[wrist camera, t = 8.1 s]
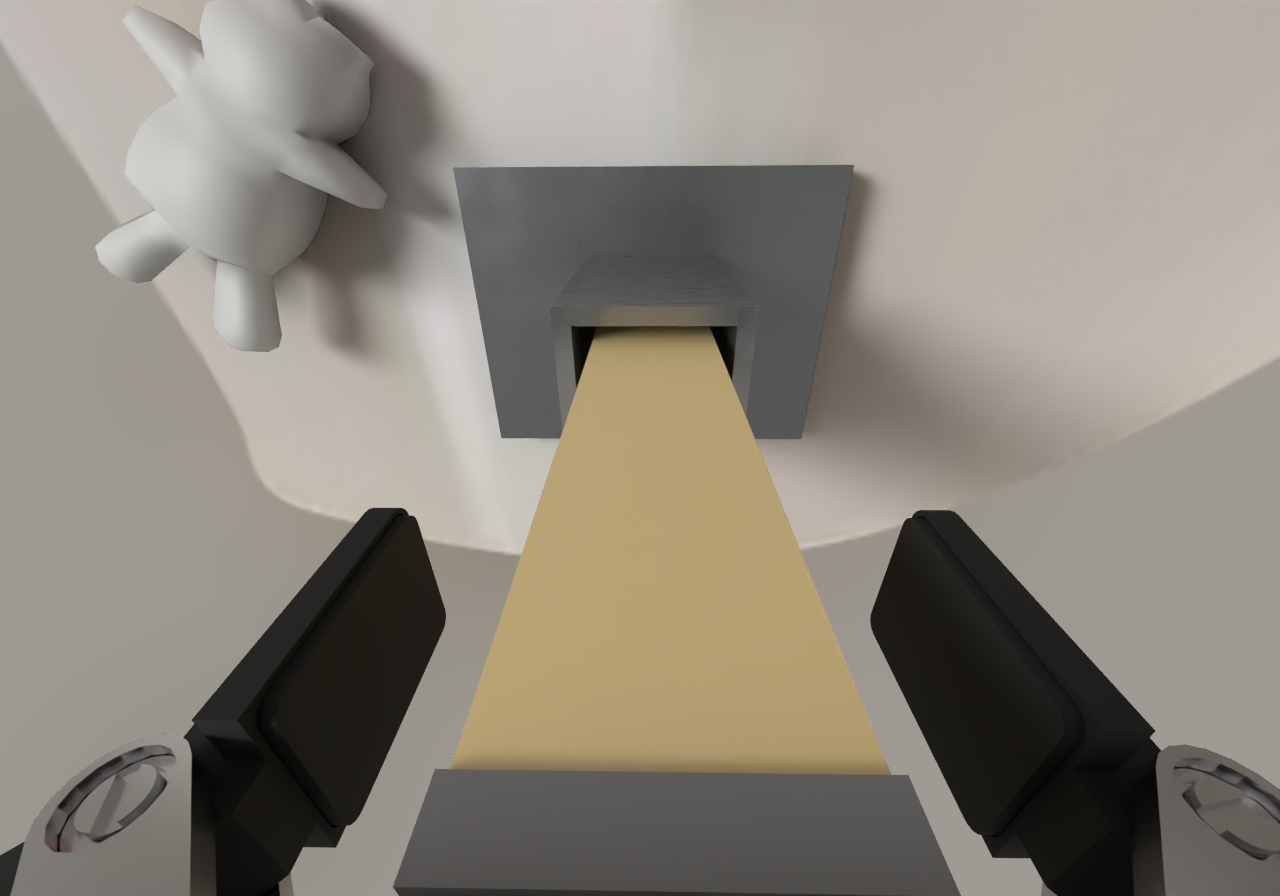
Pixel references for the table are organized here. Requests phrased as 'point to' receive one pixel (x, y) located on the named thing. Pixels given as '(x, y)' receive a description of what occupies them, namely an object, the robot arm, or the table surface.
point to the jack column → (666, 676)
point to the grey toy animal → (243, 152)
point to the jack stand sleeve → (652, 275)
